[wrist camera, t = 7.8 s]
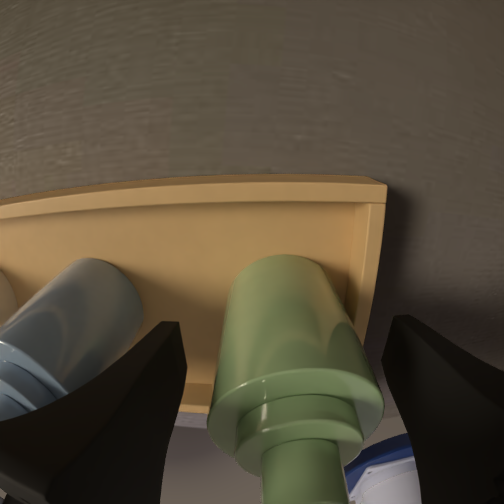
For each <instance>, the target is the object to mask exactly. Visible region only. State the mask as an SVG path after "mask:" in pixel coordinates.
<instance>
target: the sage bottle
mask: <svg viewBox="0 0 504 504" xmlns="http://www.w3.org/2000/svg"><path fill="white" fill-rule="evenodd" d="M384 407H385V404H384V398H383V395H382V392H381V390H380V387H379V385H378V382H377V380H376V377H375V375H374V372H373V370H372V368H371V365H370V363H369V361H368V358H367V356H366V354H365V351H364V349H363V347H362V344H361V342H360V340H359V337H358V335H357V333H356V331H355V328H354V326H353V324H352V322H351V319H350V317H349V315H348V313H347V311H346V308H345V306H344V304H343V302H342V300H341V298H340V296H339V293H338V291H337V289H336V287H335V285H334V283H333V281H332V279H331V277H330V276H329V274H328V273H327V272H326V271H325V270H324V269H323V268H322V267H321V266H320V265H318V264H317V263H315V262H313V261H311V260H309V259H307V258H304V257H301V256H296V255H286V254H282V255H273V256H268V257H265V258H262V259H259V260H257V261H255V262H253V263H252V264H250V265H248V266H247V267H246V268H245V269H243V270H242V271H241V272H240V273H239V274H238V275H237V276H236V278H235V279H234V281H233V282H232V284H231V286H230V288H229V292H228V295H227V301H226V306H225V312H224V318H223V324H222V330H221V336H220V342H219V348H218V354H217V360H216V366H215V372H214V378H213V384H212V391H211V397H210V403H209V410H208V416H207V430H208V433H209V435H210V437H211V439H212V441H213V442H214V443H215V445H217V447H218V448H220V449H221V450H222V451H223V452H224V453H226V454H228V455H229V456H231V457H233V458H235V460H236V462H237V464H238V465H239V466H240V467H241V468H242V469H243V470H244V471H246V472H248V473H249V474H252V475H254V476H257V477H260V478H261V504H350V499H349V493H348V488H347V483H346V477H345V472H344V466H345V465H347V464H349V463H350V462H351V461H353V460H354V459H355V458H356V457H357V456H358V455H359V453H360V452H361V450H362V448H363V446H364V441H365V440H366V439H368V438H369V437H370V436H371V434H372V433H373V432H374V431H375V430H376V428H377V427H378V425H379V424H380V422H381V420H382V417H383V414H384Z"/></svg>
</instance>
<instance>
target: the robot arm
mask: <svg viewBox="0 0 504 504" xmlns="http://www.w3.org/2000/svg"><path fill="white" fill-rule="evenodd" d="M381 362H382V366H383V370H384V374H385V377H386V381H387V384H388V387H389V389H390V391H391V394H392V396H393V399H394V401H395V403H396V406H397V408H398V410H399V413H400V415H401V418H402V420H403V422H404V425H405V427H406V430H407V432H408V435H409V438H410V441H411V445H412V449H413V453H414V455H413V456H410V457H406V458H402V459H398V460H394V461H390V462H386V463H381V464H376V465H371V466H369V467H367V468H366V469H365V471H364V473H363V474H362V476H361V477H360V479H359V481H358V482H357V484H356V485H355V487H354V488H353V490H352V491H351V493H350V494H349V499H350V501H353V500H355V503H356V504H504V371H502V370H500V369H497V368H495V367H493V366H491V365H489V364H487V363H485V362H484V361H482V360H480V359H478V358H476V357H475V356H473V355H471V354H470V353H468V352H466V351H465V350H463V349H461V348H460V347H458V346H457V345H455V344H454V343H452V342H451V341H449V340H448V339H446V338H445V337H443V336H442V335H440V334H439V333H437V332H436V331H434V330H433V329H431V328H430V327H428V326H427V325H425V324H424V323H422V322H421V321H419V320H417V319H416V318H414V317H412V316H410V315H397V316H393V319H392V323H391V327H390V331H389V335H388V338H387V342H386V346H385V349H384V352H383V356H382V359H381ZM187 368H188V366H187V361H186V356H185V351H184V346H183V341H182V335H181V330H180V324H179V322H177V321H161V322H160V323H159V324H157V325H156V326H155V327H154V328H153V329H152V330H151V331H150V332H149V333H148V334H146V335H145V336H144V337H143V338H142V339H141V340H140V341H139V342H138V343H137V344H135V345H134V346H133V347H132V348H131V349H130V350H129V351H128V352H126V353H125V354H124V355H123V356H122V357H120V358H119V359H118V360H117V361H115V362H114V363H113V364H112V365H110V366H109V367H108V368H107V369H105V370H104V371H103V372H102V373H100V374H99V375H98V376H96V377H95V378H93V379H92V380H90V381H89V382H87V383H86V384H84V385H83V386H81V387H79V388H78V389H76V390H75V391H73V392H71V393H69V394H67V395H65V396H63V397H62V398H60V399H58V400H56V401H54V402H52V403H50V404H48V405H46V406H43V407H41V408H39V409H36V410H34V411H31V412H29V413H26V414H23V415H20V416H17V417H14V418H11V419H7V420H3V421H0V488H1V489H2V490H3V491H4V492H6V493H7V495H6V497H5V499H3V498H1V497H0V504H160V496H161V486H162V479H163V472H164V465H165V458H166V453H167V449H168V444H169V441H170V437H171V434H172V431H173V427H174V424H175V420H176V417H177V414H178V410H179V407H180V404H181V400H182V397H183V393H184V388H185V382H186V375H187Z"/></svg>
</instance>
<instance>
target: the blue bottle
mask: <svg viewBox="0 0 504 504" xmlns="http://www.w3.org/2000/svg"><path fill="white" fill-rule="evenodd" d="M143 318H144V313H143V305H142V302H141V299H140V296H139V294H138V292H137V290H136V288H135V287H134V285H133V284H132V283H131V281H130V280H129V279H128V278H127V277H126V276H125V275H124V274H123V273H122V272H121V271H120V270H118V269H117V268H116V267H114V266H113V265H111V264H109V263H107V262H105V261H102V260H99V259H95V258H81V259H77V260H75V261H73V262H71V263H70V264H69V265H67V266H66V267H65V268H64V269H63V270H61V271H60V272H59V273H58V274H57V275H56V276H54V277H53V278H52V279H51V280H50V281H49V282H47V283H46V284H45V285H44V286H43V287H42V288H41V289H39V290H38V291H37V292H36V293H35V294H34V295H33V296H32V297H30V298H29V299H28V300H27V301H26V302H25V303H24V304H23V305H22V306H21V307H20V308H19V309H17V310H16V311H15V312H14V313H13V314H12V315H11V316H10V317H9V318H8V319H7V320H6V321H5V322H4V323H3V324H2V325H1V326H0V421H3V420H7V419H11V418H14V417H17V416H20V415H23V414H26V413H29V412H31V411H34V410H36V409H39V408H41V407H43V406H46V405H48V404H50V403H52V402H54V401H56V400H58V399H60V398H62V397H63V396H65V395H67V394H69V393H71V392H73V391H75V390H76V389H78V388H79V387H81V386H83V385H84V384H86V383H87V382H89V381H90V380H92V379H93V378H95V377H96V376H98V375H99V374H100V373H102V372H103V371H104V370H105V369H107V368H108V367H109V366H110V365H112V364H113V363H114V362H115V361H117V360H118V359H119V358H120V357H122V356H123V355H124V354H125V353H126V352H128V351H129V350H130V348H131V346H132V344H133V342H134V340H135V339H136V337H137V335H138V333H139V331H140V329H141V327H142V324H143Z"/></svg>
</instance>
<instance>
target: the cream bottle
mask: <svg viewBox="0 0 504 504" xmlns="http://www.w3.org/2000/svg"><path fill="white" fill-rule="evenodd" d="M17 309H18V304H17V300H16V296H15V294H14V291H13V289H12V287H11V285H10V283H9V281H8V279H7V278H6V276H5V275H4V273H3V272H2V271H1V270H0V326H1V325H2V324H3V323H4V322H5V321H6V320H7V319H8V318H9V317H10V316H11V315H12V314H13V313H14V312H15V311H16V310H17Z"/></svg>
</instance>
